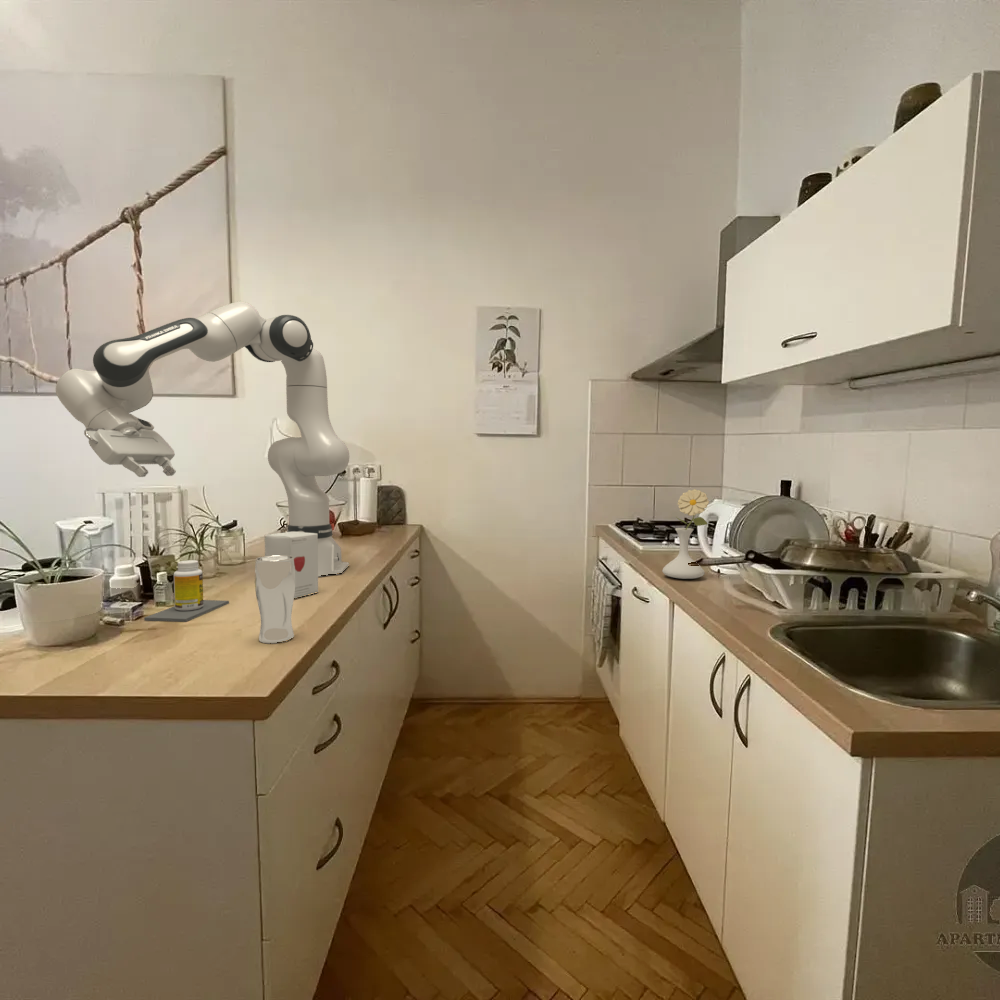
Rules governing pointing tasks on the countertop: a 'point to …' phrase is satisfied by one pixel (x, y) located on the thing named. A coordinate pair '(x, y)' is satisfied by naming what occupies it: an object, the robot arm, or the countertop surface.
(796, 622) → the countertop surface
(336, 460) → the robot arm
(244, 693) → the countertop surface
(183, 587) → the supplement bottle
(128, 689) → the countertop surface
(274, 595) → the beer glass
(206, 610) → the mat
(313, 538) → the supplement box
